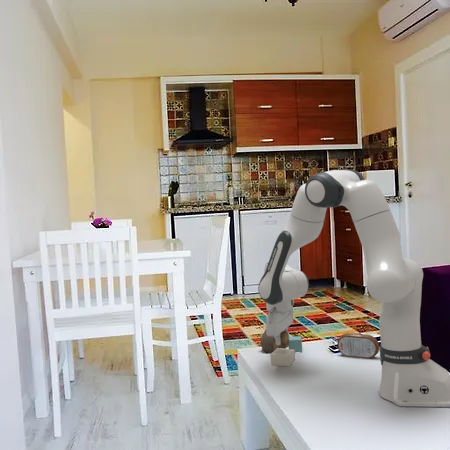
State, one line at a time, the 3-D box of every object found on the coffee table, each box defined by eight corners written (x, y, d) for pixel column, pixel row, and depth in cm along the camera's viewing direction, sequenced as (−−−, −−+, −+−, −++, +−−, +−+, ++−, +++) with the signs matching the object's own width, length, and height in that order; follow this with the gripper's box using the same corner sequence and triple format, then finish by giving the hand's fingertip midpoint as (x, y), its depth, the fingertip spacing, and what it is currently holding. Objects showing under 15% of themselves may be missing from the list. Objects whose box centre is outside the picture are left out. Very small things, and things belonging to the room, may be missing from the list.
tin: (380, 357, 182) (378, 334, 182) (378, 360, 179) (376, 336, 179) (340, 354, 190) (338, 331, 190) (337, 356, 188) (335, 334, 187)
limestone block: (295, 360, 187) (294, 349, 187) (289, 366, 181) (288, 355, 181) (277, 359, 190) (276, 348, 190) (271, 365, 184) (270, 354, 184)
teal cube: (302, 348, 201) (301, 336, 201) (302, 352, 196) (300, 339, 196) (289, 349, 202) (288, 336, 202) (289, 353, 197) (287, 340, 197)
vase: (258, 350, 204) (256, 328, 204) (274, 347, 206) (272, 326, 206) (265, 354, 197) (263, 332, 197) (281, 351, 199) (279, 329, 199)
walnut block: (289, 345, 186) (288, 331, 186) (285, 348, 182) (284, 334, 182) (277, 344, 188) (276, 331, 188) (273, 348, 184) (272, 334, 184)
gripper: (277, 311, 174) (280, 351, 175) (295, 299, 192) (297, 335, 193) (260, 311, 177) (263, 350, 177) (279, 298, 195) (282, 334, 196)
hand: (281, 342), depth 185 cm, fingers closed on walnut block, 4 cm apart
